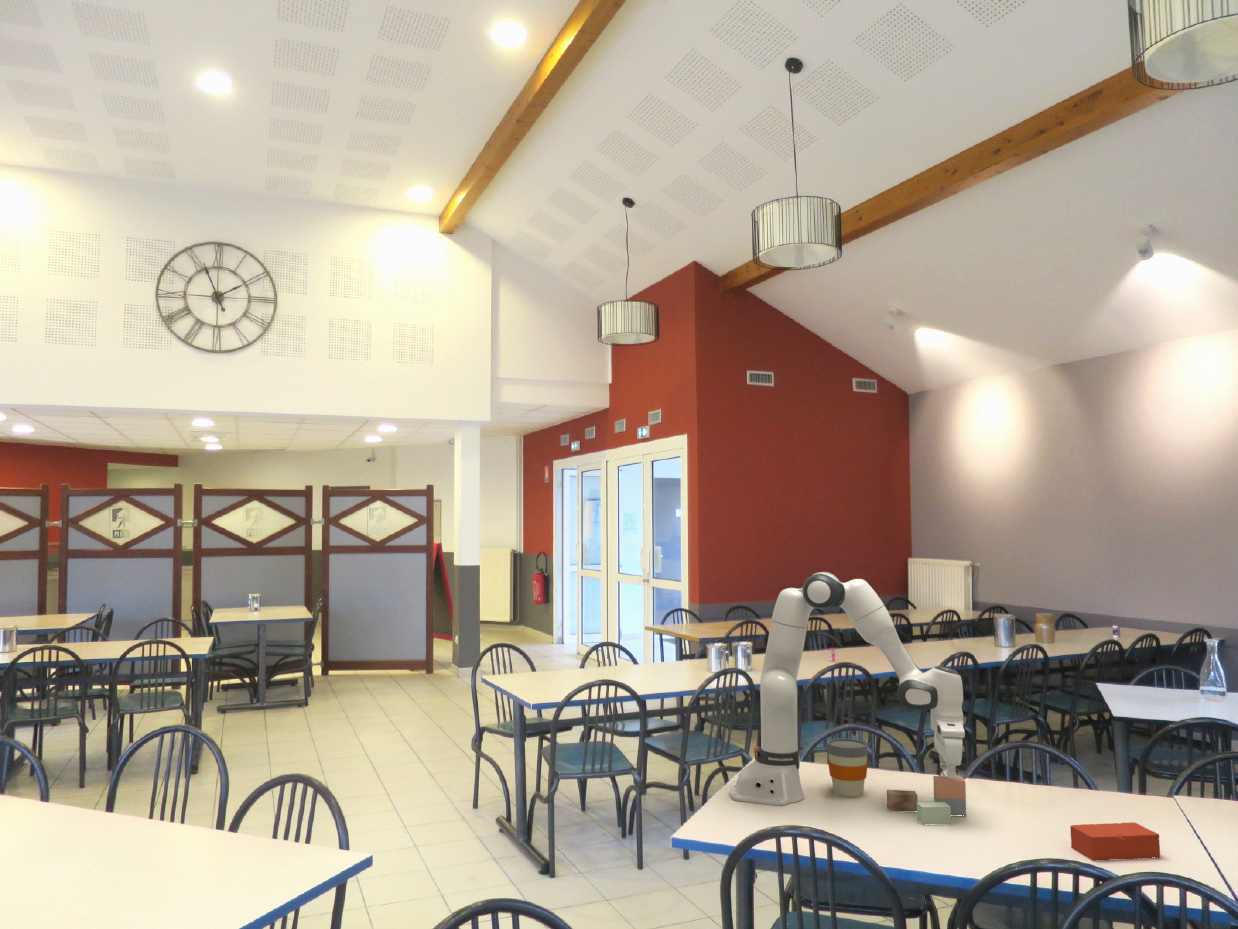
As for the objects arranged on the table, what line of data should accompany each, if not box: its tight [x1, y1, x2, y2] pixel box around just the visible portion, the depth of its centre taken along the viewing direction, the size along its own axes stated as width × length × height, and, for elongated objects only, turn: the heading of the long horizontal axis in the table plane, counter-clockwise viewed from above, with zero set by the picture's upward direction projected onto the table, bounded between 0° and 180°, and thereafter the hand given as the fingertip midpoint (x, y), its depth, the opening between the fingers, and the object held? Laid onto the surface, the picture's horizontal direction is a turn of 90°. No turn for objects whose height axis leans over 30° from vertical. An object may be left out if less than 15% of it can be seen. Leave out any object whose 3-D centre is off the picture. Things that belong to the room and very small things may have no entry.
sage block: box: [916, 801, 952, 826], centre depth 241 cm, size 8×4×5 cm, turn 92°
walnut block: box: [886, 789, 918, 812], centre depth 252 cm, size 8×4×5 cm, turn 81°
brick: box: [1069, 821, 1161, 862], centre depth 218 cm, size 18×9×6 cm, turn 95°
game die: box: [937, 767, 967, 780], centre depth 266 cm, size 9×8×10 cm
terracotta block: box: [932, 775, 967, 800], centre depth 248 cm, size 8×4×5 cm, turn 80°
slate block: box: [933, 794, 967, 817], centre depth 248 cm, size 8×4×5 cm, turn 80°
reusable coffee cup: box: [826, 738, 869, 798], centre depth 268 cm, size 13×12×15 cm
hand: (947, 773), depth 248 cm, fingers open, 8 cm apart
